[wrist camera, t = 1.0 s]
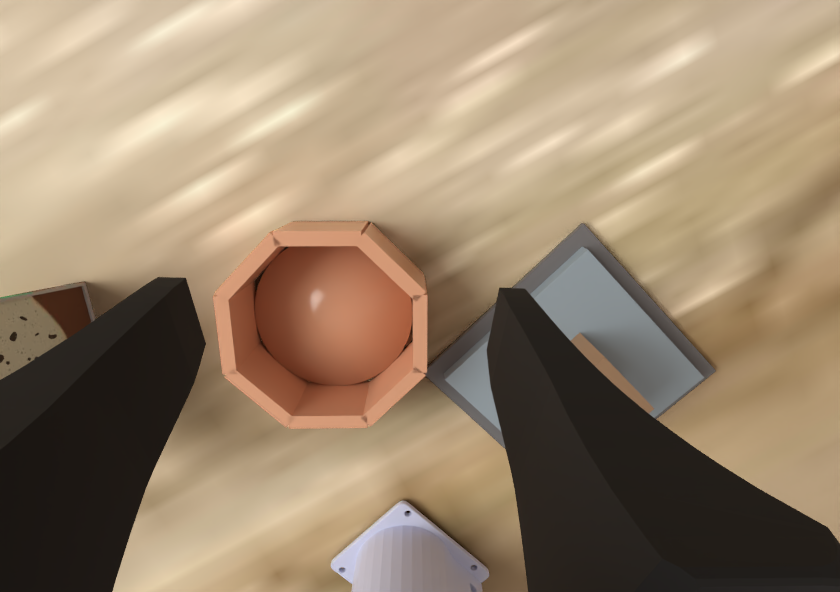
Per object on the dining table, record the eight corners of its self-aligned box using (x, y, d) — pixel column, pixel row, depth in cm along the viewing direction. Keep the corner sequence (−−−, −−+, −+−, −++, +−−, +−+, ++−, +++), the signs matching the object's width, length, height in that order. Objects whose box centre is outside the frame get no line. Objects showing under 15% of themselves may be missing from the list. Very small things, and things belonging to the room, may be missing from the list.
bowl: (461, 310, 31) (470, 334, 26) (341, 423, 33) (330, 463, 28) (328, 181, 28) (313, 183, 24) (207, 311, 30) (173, 336, 26)
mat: (712, 368, 32) (715, 370, 32) (556, 493, 34) (558, 497, 34) (581, 223, 29) (583, 223, 29) (422, 370, 32) (422, 373, 31)
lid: (695, 371, 32) (746, 407, 27) (560, 480, 34) (584, 533, 29) (581, 246, 29) (615, 262, 24) (443, 373, 31) (449, 410, 26)
